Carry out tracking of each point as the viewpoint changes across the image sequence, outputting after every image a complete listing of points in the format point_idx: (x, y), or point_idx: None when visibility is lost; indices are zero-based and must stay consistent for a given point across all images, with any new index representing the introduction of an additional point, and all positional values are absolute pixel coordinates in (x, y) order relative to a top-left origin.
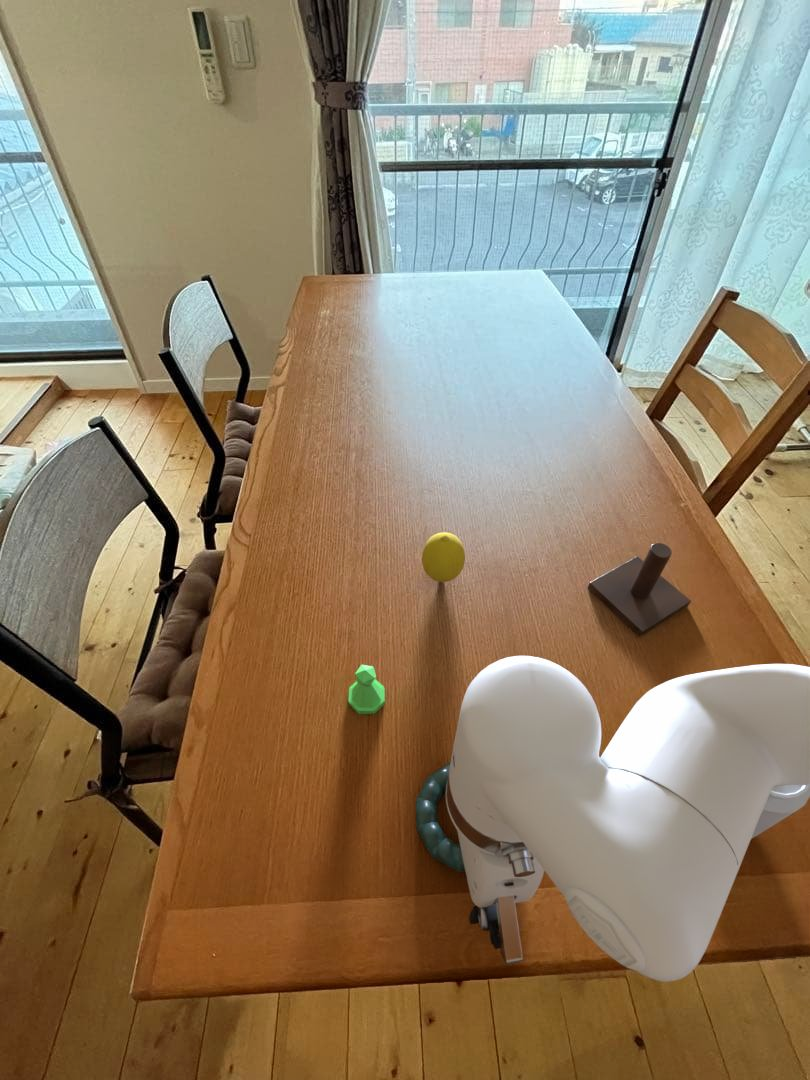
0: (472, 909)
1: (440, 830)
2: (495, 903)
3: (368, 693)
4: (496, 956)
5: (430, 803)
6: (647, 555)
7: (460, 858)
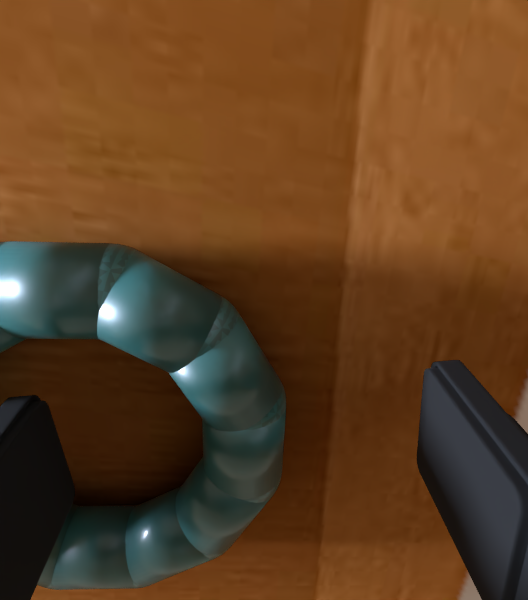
0: (461, 554)
1: (153, 535)
2: (514, 554)
3: None
4: (514, 364)
5: (61, 566)
6: None
7: (251, 500)
